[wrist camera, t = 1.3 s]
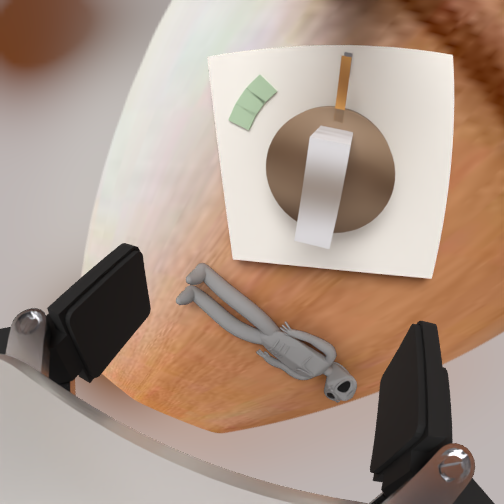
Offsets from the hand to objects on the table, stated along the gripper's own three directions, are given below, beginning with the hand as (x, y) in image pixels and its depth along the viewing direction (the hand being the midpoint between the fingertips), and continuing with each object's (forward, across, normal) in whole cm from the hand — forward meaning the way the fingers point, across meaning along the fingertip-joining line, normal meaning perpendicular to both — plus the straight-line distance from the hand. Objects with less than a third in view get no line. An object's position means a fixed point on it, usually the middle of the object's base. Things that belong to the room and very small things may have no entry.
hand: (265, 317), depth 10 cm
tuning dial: (+18, 0, -2) cm, 18 cm away
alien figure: (+20, +2, +21) cm, 29 cm away
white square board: (+20, 0, 0) cm, 20 cm away
